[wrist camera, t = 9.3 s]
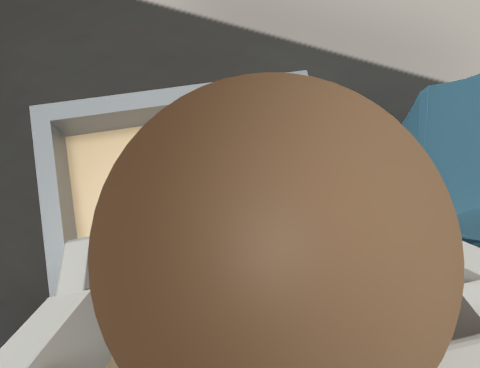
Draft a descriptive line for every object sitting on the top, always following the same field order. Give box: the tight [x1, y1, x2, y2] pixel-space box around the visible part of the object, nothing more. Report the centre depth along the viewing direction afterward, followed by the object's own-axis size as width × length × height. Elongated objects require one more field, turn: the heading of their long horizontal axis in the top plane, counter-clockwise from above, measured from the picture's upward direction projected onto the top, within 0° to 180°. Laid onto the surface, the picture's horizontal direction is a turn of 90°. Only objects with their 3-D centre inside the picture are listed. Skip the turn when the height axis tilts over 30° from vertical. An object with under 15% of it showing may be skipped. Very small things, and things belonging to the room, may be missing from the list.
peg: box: [88, 72, 464, 368], centre depth 11 cm, size 4×4×12 cm
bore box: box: [29, 70, 308, 368], centre depth 28 cm, size 16×16×7 cm
